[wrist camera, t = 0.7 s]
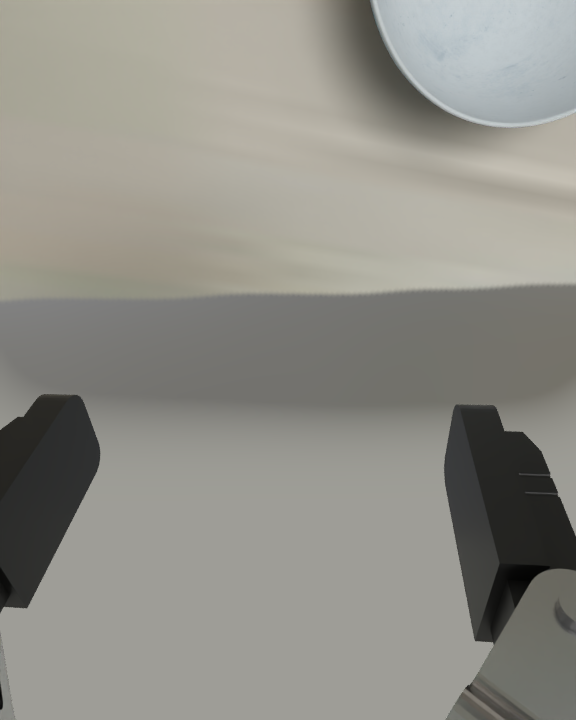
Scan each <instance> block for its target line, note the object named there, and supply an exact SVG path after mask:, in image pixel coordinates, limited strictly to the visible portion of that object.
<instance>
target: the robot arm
mask: <svg viewBox="0 0 576 720" xmlns="http://www.w3.org/2000/svg"><path fill="white" fill-rule="evenodd" d="M99 461H100V447H99V443H98V440H97V437H96V435H95V432H94V429H93V426H92V424H91V421H90V418H89V416H88V413H87V410H86V407H85V405H84V402H83V400H82V399H81V397H79V396H78V395H54V394H44V395H41V396H39V397H38V398H37V399H36V401H35V402H34V403H33V405H32V406H31V407H30V409H29V410H28V411H27V413H26V414H25V416H24V417H17V418H16V419H14V420H13V421H12V422H10V423H9V424H8V425H6V426H5V427H4V428H2V429H1V430H0V612H1V611H2V609H3V607H15V608H27V607H28V605H29V603H30V601H31V600H32V597H33V596H34V593H35V592H36V590H37V588H38V586H39V584H40V582H41V580H42V578H43V576H44V574H45V572H46V570H47V568H48V566H49V564H50V562H51V560H52V558H53V556H54V554H55V553H56V551H57V549H58V547H59V545H60V543H61V541H62V539H63V537H64V535H65V533H66V531H67V529H68V527H69V525H70V523H71V521H72V519H73V517H74V515H75V513H76V511H77V509H78V507H79V505H80V503H81V501H82V500H83V498H84V496H85V494H86V492H87V490H88V488H89V486H90V484H91V482H92V480H93V478H94V476H95V474H96V472H97V469H98V466H99ZM444 473H445V486H446V491H447V496H448V502H449V507H450V512H451V517H452V522H453V528H454V533H455V538H456V544H457V549H458V555H459V560H460V565H461V570H462V576H463V580H464V586H465V592H466V597H467V601H468V607H469V613H470V618H471V623H472V628H473V633H474V639H475V641H483V642H484V641H485V642H493V643H494V646H493V648H492V650H491V651H490V653H489V655H488V657H487V658H486V660H485V662H484V664H483V665H482V667H481V669H480V671H479V672H478V674H477V675H476V677H475V679H474V680H473V682H472V683H471V684H470V685H468V686H467V687H466V688H465V689H464V691H463V692H462V693H461V695H460V696H459V698H458V700H457V702H456V703H455V705H454V706H453V708H452V710H451V711H450V713H449V715H448V716H447V718H446V720H576V536H575V533H574V531H573V528H572V527H571V524H570V521H569V519H568V516H567V514H566V511H565V509H564V506H563V504H562V501H561V499H560V497H558V491H557V489H556V487H555V484H554V482H553V479H552V478H550V472H549V469H548V467H547V464H546V462H545V459H544V457H543V454H542V452H541V451H540V450H539V448H538V447H537V446H536V445H535V444H534V443H533V442H532V441H531V440H530V439H529V438H528V437H527V436H526V435H525V434H524V433H523V432H507V431H504V428H503V426H502V423H501V420H500V417H499V414H498V411H497V409H496V407H495V406H493V405H456V406H455V407H454V410H453V415H452V421H451V426H450V432H449V438H448V443H447V449H446V455H445V464H444ZM0 720H15V716H14V711H13V706H12V700H11V694H10V688H9V682H8V676H7V670H6V664H5V658H4V652H3V646H2V640H1V634H0Z"/></svg>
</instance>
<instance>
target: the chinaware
mask: <svg viewBox="0 0 576 720" xmlns="http://www.w3.org/2000/svg"><path fill="white" fill-rule="evenodd" d="M370 3H371V8H372V11H373V15H374V18H375V22H376V25H377V27H378V30H379V33H380V35H381V38H382V40H383V42H384V44H385V46H386V48H387V50H388V52H389V54H390V56H391V58H392V59H393V61H394V62H395V64H396V65H397V67H398V68H399V70H400V71H401V72H402V74H403V75H404V76H405V78H406V79H407V80H408V81H409V82H410V83H411V84H412V85H413V86H414V87H415V88H416V89H417V90H418V91H419V92H420V93H421V94H422V95H423V96H424V97H425V98H427V99H428V100H429V101H431V102H432V103H433V104H435V105H436V106H438V107H439V108H441V109H443V110H444V111H446V112H448V113H450V114H452V115H454V116H456V117H458V118H461V119H463V120H466V121H469V122H472V123H476V124H480V125H485V126H490V127H500V128H520V127H529V126H535V125H540V124H545V123H548V122H552V121H555V120H558V119H561V118H564V117H566V116H569V115H571V114H574V113H576V0H370Z"/></svg>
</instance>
